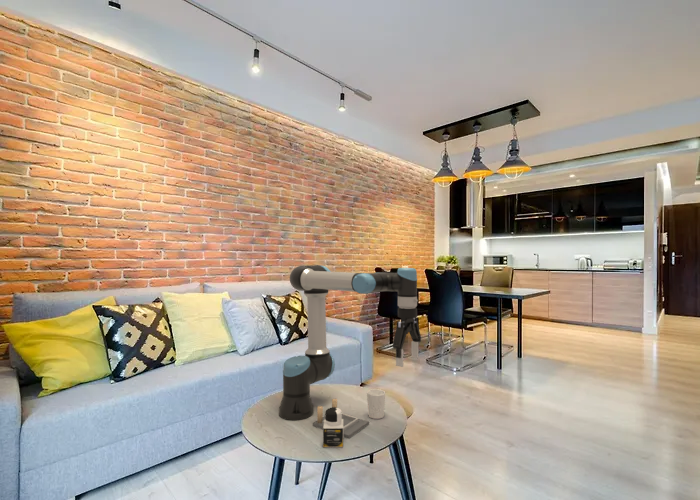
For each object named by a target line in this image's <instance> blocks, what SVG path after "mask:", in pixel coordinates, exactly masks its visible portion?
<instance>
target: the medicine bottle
mask: <svg viewBox="0 0 700 500" xmlns="http://www.w3.org/2000/svg"><path fill="white" fill-rule="evenodd" d="M342 413H343V411H342V409H341V408H339V407H337V408H336V407H332V406H331V407H329V408H327V409H325V412H324V414H325V415H324V416H325V420H324V426H323V429H322V430H323V431H322V447H323V448H343V447H344V437H343V419H342Z"/></svg>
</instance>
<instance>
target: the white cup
mask: <svg viewBox="0 0 700 500" xmlns="http://www.w3.org/2000/svg"><path fill="white" fill-rule="evenodd" d="M366 398H367V399H366V400H367V401H366V402H367V413H368V414H367V416H368V415H369V416H368V417H369V418H371V419H374V420H377V419H378V420H379V419H383V418H384V417H385V410H386V406H385V405H386V391H385V390H383V389H380V388H379V389H378V388H371V389H368V390H367V391H366Z"/></svg>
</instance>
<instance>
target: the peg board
mask: <svg viewBox="0 0 700 500" xmlns="http://www.w3.org/2000/svg"><path fill="white" fill-rule="evenodd" d="M323 407H324V406H322V405H318V406H317V407H316V408H317V409H316V412H317V413H316V417H317V418H316V419H317V420H315V421H314V422H312V426H313V427H315V428H318V429H321V430H323V426H324V420H325V415H323V414H324V410H323V409H324V408H323ZM332 407H336V408H338V399H337V398H332V399H331V408H332ZM342 419H343V438H345V439H348V440H349V439H351V438H352V437H353V436H355V435H356V434H358V433H359V432H361V431H362V430H363V429H365V428H366V427H367V426H369V425H370V422H369V421H368V420H364V419H361V418H359V417H356V416H352V415H349V414H346V413H343V412H342Z"/></svg>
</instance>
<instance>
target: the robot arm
mask: <svg viewBox="0 0 700 500" xmlns="http://www.w3.org/2000/svg"><path fill="white" fill-rule="evenodd" d="M289 283H290V285H291V286H292V288H294V289H295V290H297V291H300V292H301V291H302V292H303V294H304V296H306V299H307V302H306V303H307V305H306V306H307V307H306V308H307V342H308V343H307V345H308V346H307V349H306V350H305V351H304V353H305V354H304V355H297V356H292V357H290V358H287V359H285V361H284V362H283V367H282V368H283V369H282V378H283V379H282V386H283V387H282V389H283V390H282V399H281V402H280V405H279V408H278V415H279V417H280V418H282V419H284V420H288V421H299V420H305V419H308V418H309V417H311V416H313V414H314V413H315V409H314V407H315V406H314V404H313V401H312V397H311V385H313V384H315V383H317V382H318V383H319V382H320V381H323V380H326V379H327V378H329V377H331V375H332V374H333V373H334V371H335V368H336V367H335V365H336V363H335V358H334V357H333V355H332V354H331V352H330V351H331V350H330V349H329V348H328V347H327V323H326V322H327V318H326V317H327V315H326V314H327V313H326V311H327V310H326V309H327V307H326V297H327V296H328V294H329V291H342V292H354V293H358V294H360V295H362V294H363V295H365V294H366V295H367V294H371V293H379V292H397V317H398V318H400V321H396V327H395V328H396V329H395V333H394V337H393V343H392V349H395V366H397V367H401V368H403V367H404V348H403V346H404V343H405V340H406V338H407V334H409V335H410V337H411V340H412V341H411V342H410V343H411V359H416V360H419V343H421V342H422V336H421V335H422V334H421V331H420V327H419V323H418V322H419V321H418V319H419V318H418V308H417V306H418V302H419V299H418V273H417V270H416V268H415V267H414V268H413V267H405V268H404V267H399V268H398V269H397V272H382V271H381V272H380V271H379V272H369V273H368V272H366V273H365V272H347V271H346V272H345V271H343V272H342V271H331V270H330V269H329V267H327V266H325V265H320V264H316V265H314V264H313V265H311V264H310V265H298V266H296V267H294V268H293V269H292V271H290V275H289Z"/></svg>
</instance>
